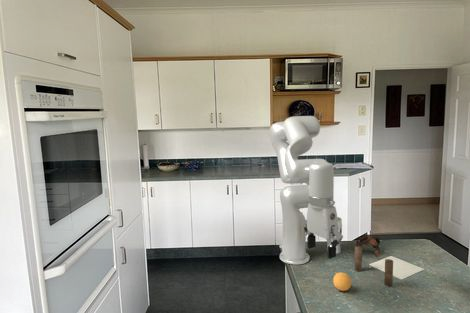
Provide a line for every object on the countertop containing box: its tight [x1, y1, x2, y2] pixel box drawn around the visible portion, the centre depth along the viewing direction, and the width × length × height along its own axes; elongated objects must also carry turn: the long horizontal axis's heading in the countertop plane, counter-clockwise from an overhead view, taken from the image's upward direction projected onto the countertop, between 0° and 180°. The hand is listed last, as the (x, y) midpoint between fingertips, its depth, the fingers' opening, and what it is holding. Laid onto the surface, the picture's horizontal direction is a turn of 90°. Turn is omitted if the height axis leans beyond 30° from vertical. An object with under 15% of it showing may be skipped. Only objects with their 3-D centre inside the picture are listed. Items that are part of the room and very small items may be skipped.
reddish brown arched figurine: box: [355, 235, 382, 258], centre depth 141 cm, size 12×10×8 cm
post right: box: [383, 259, 394, 288], centre depth 113 cm, size 3×3×9 cm
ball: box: [332, 271, 352, 292], centre depth 111 cm, size 6×6×6 cm
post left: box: [354, 246, 363, 272], centre depth 124 cm, size 3×3×9 cm
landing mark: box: [368, 255, 425, 280], centre depth 126 cm, size 14×14×1 cm
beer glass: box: [326, 216, 343, 255], centre depth 142 cm, size 7×7×15 cm
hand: (321, 252), depth 105 cm, fingers open, 8 cm apart
